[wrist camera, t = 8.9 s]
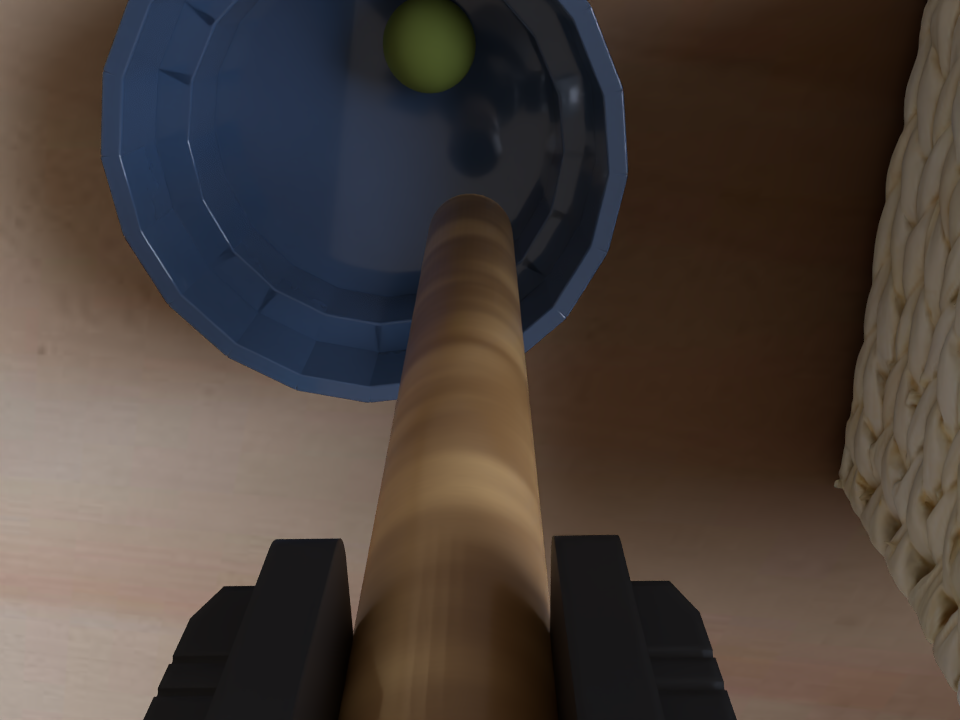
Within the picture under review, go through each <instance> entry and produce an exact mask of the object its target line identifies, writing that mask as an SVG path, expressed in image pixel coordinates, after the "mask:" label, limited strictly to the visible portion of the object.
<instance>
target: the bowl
mask: <svg viewBox="0 0 960 720" xmlns="http://www.w3.org/2000/svg"><path fill="white" fill-rule="evenodd" d="M405 1H407V0H128V2H127V5H126V8H125V11H124V13H123V16H122V19H121V22H120V24H119V27H118V30H117V33H116V35H115V38H114V41H113V44H112V46H111V49H110V52H109V55H108V57H107V60H106V63H105V66H104V68H103V70H104V72H103V75H102V120H101V160H102V163H103V167H104V170H105V174H106V177H107V181H108V184H109V187H110V191H111V194H112V198H113V201H114V205H115V208H116V212H117V215H118V218H119V222H120V225H121V229H122V232H123V235H124V236H125V239H126V241H127V242H128V244H129V245H130V247H131V248H132V250H133V251H134V253H135V255H136V256H137V258H138V259H139V261H140V262H141V264H142V265H143V267H144V269H145V270H146V272H147V273H148V275H149V276H150V278H151V279H152V281H153V283H154V284H155V286H156V287H157V289H158V290H159V292H160V293H161V295H162V297H163V298H164V300H165V301H166V303H167V304H169V306H170V307H171V308H172V309H173V310H174V311H176V312H177V313H178V314H179V315H180V316H181V317H182V318H184V319H185V320H186V321H187V322H188V323H189V324H190V325H192V326H193V327H194V328H195V329H196V330H197V331H198V332H199V333H201V334H202V335H203V336H204V337H205V338H206V339H207V340H209V341H210V342H211V343H212V344H213V345H214V346H215V347H217V348H218V349H219V350H220V351H221V352H222V353H223V354H224V355H226V356H228V358H230V359H232V360H234V361H237V362H239V363H241V364H243V365H245V366H247V367H249V368H251V369H253V370H255V371H257V372H259V373H261V374H264V375H266V376H268V377H270V378H272V379H274V380H276V381H278V382H280V383H282V384H284V385H286V386H289V387H291V388H293V389H296V390H298V391H304V392H309V393H315V394H321V395H327V396H332V397H338V398H344V399H350V400H355V401H361V402H367V403H369V402H380V401H389V400H397V397H398V392H399V387H400V381H401V376H402V371H403V365H404V360H405V355H406V349H407V344H408V338H409V333H410V328H411V322H412V317H413V312H414V306H415V301H416V296H417V290H418V285H419V280H420V274H421V269H422V264H423V258H424V253H425V247H426V242H427V237H428V231H429V226H430V223H431V220H432V218H433V216H434V214H435V213H436V211H437V210H438V209H439V207H440V206H442V205H443V204H444V203H445V202H446V201H448V200H449V199H451V198H453V197H456V196H458V195H463V194H478V195H483V196H485V197H488V198H490V199H492V200H493V201H495V202H496V203H497V204H498V205H499V206H500V207H501V208H502V209H503V210H504V211H505V213H506V214H507V216H508V218H509V220H510V223H511V227H512V232H513V242H514V252H515V262H516V272H517V282H518V292H519V302H520V312H521V322H522V332H523V342H524V352H525V353H526V352H527V351H528V350H529V349H531V348H532V347H533V346H534V345H535V344H537V343H538V342H539V341H540V340H541V339H542V338H544V337H545V336H546V335H547V334H548V333H550V332H551V331H552V330H553V329H554V328H555V327H557V326H558V325H559V324H560V323H561V322H563V321H564V320H565V319H566V317H567V316H568V315H569V314H570V312H571V311H572V309H573V307H574V306H575V304H576V303H577V301H578V299H579V298H580V296H581V295H582V293H583V292H584V290H585V288H586V287H587V285H588V284H589V282H590V280H591V279H592V277H593V276H594V274H595V272H596V271H597V269H598V268H599V266H600V265H601V263H602V261H603V260H604V258H605V257H606V255H607V252H608V250H609V247H610V243H611V240H612V236H613V232H614V228H615V224H616V220H617V216H618V213H619V209H620V205H621V201H622V197H623V193H624V189H625V186H626V182H627V178H628V175H627V174H628V158H627V141H626V123H625V106H624V92H623V90H622V89H623V86H622V84H621V81H620V79H619V76H618V73H617V71H616V68H615V66H614V63H613V61H612V58H611V55H610V53H609V50H608V48H607V45H606V42H605V40H604V37H603V35H602V32H601V30H600V27H599V24H598V22H597V19H596V17H595V14H594V11H593V9H592V7H590V4H589V2H588V1H587V0H450V1H452V2H453V3H455V4H456V5H457V6H458V7H460V8H461V9H462V10H463V12H464V13H465V14H466V16H467V17H468V19H469V20H470V22H471V25H472V27H473V30H474V34H475V41H476V49H475V56H474V60H473V63H472V65H471V68H470V69H469V71H468V73H467V74H466V76H465V77H464V78H463V79H462V80H461V81H460V82H459V83H458V84H456V85H455V86H454V87H452V88H450V89H448V90H445V91H443V92H439V93H422V92H418V91H414V90H412V89H410V88H408V87H406V86H405V85H403V84H402V83H401V82H400V81H399V80H398V79H397V78H396V77H395V76H394V75H393V73H392V72H391V71H390V69H389V67H388V65H387V62H386V60H385V56H384V51H383V35H384V30H385V27H386V24H387V22H388V20H389V18H390V16H391V15H392V13H393V12H394V11H395V10H396V9H397V8H398V7H399V6H400V5H401V4H402V3H404V2H405Z"/></svg>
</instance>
